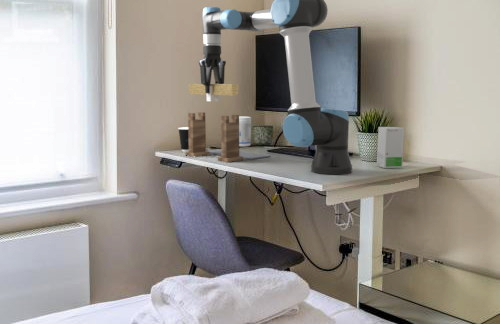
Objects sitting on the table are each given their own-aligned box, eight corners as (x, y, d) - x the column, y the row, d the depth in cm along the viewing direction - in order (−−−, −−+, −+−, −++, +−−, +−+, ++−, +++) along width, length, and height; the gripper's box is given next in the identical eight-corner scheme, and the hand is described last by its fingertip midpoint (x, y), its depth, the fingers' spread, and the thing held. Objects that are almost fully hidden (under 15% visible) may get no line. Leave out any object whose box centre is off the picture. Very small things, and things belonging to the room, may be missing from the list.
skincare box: (384, 168, 211) (385, 128, 208) (375, 166, 217) (377, 126, 215) (403, 167, 213) (405, 127, 211) (394, 165, 219) (396, 126, 217)
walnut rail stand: (243, 160, 233) (243, 115, 230) (227, 162, 227) (227, 116, 224) (200, 153, 252) (200, 112, 250) (185, 155, 246) (184, 112, 243)
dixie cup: (190, 152, 256) (190, 128, 254) (175, 151, 258) (175, 128, 256) (198, 150, 263) (197, 127, 261) (183, 149, 266) (182, 126, 264)
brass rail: (238, 95, 226) (238, 84, 226) (232, 95, 224) (232, 84, 223) (195, 94, 246) (195, 83, 246) (189, 94, 244) (189, 83, 243)
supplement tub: (228, 146, 278) (228, 117, 276) (237, 144, 286) (237, 115, 284) (245, 147, 274) (245, 117, 271) (254, 145, 282) (254, 116, 280)
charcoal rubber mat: (270, 156, 241) (270, 155, 241) (250, 159, 233) (250, 158, 233) (221, 150, 264) (221, 148, 264) (202, 152, 256) (202, 151, 256)
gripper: (221, 46, 240) (221, 100, 244) (191, 44, 229) (192, 101, 232) (232, 45, 235) (233, 100, 239) (202, 44, 224) (203, 101, 227)
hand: (213, 100), depth 236 cm, fingers closed on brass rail, 3 cm apart
